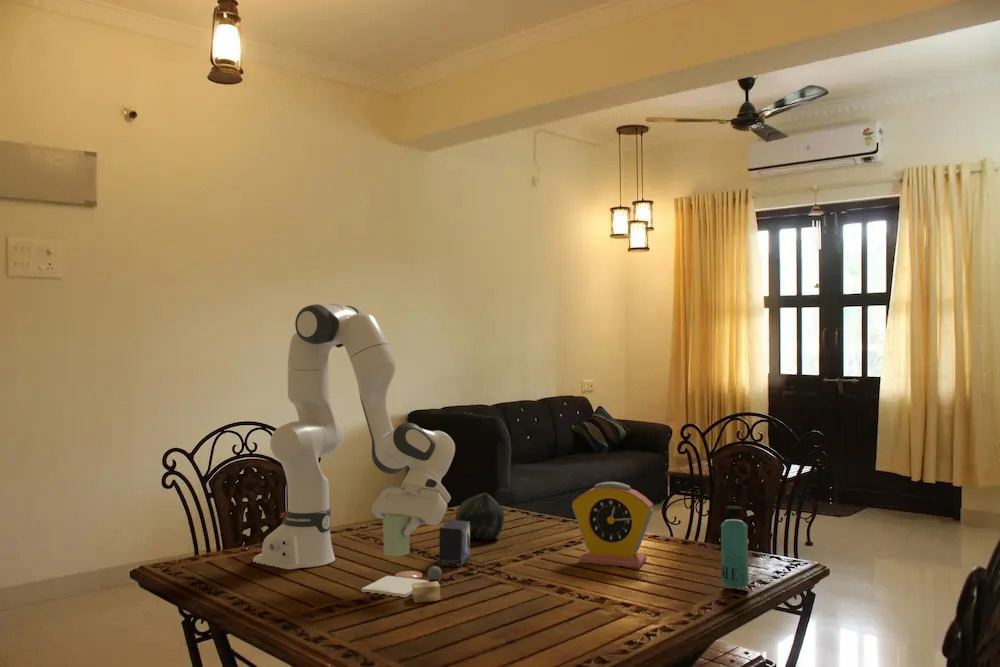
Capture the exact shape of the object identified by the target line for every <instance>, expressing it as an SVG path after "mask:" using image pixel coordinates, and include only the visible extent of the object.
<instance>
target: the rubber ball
mask: <svg viewBox="0 0 1000 667" xmlns="http://www.w3.org/2000/svg"><path fill="white" fill-rule="evenodd" d="M442 571H443V570H442V569H441V568H440V566H437V565H433V566H431V567H430V568H428V570H427V577H428V579H429V581H431V582H435V581H439V580H440V579H441V577H443V576H442V575H443V572H442Z"/></svg>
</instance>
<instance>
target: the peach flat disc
mask: <svg viewBox="0 0 1000 667" xmlns="http://www.w3.org/2000/svg"><path fill="white" fill-rule="evenodd" d="M394 577H403V578H411V579H419V578H420V579H421V578H423V573H422V572H420V571H414V570H407V571H400V572H397V573H395V574H394Z"/></svg>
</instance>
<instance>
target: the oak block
mask: <svg viewBox="0 0 1000 667" xmlns="http://www.w3.org/2000/svg"><path fill="white" fill-rule="evenodd" d="M411 596H412V600H413V602H414V603H424V602H427V603H428V602H436V601H437V602H438V600H440V601H441V585H440V583H439V580H437V581H429V582H421V583H412V594H411Z"/></svg>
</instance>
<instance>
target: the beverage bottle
mask: <svg viewBox="0 0 1000 667" xmlns="http://www.w3.org/2000/svg"><path fill="white" fill-rule="evenodd" d="M724 514H725V515H724V516H725V517H729V518H731V519H725V520H724V521H723V522H722V523H721V524H720V528H721V529H720V530H721V532H720V549H721V550H720V552H721V557H720V558H721V573H720V575H721V577H720V578H721V579H720V580H721V582H722V585H724V586H726V587H729V588H746V587H748V586H749V579H750V578H749V577H750V575H749V571H750V569H749V554H748V553H749V547H748V541H749V540H748V527H749V526H748V524H747V523H746V522H744V521H743V520H742V519H735V518H741V517H744V513H743V507H741V506H737V505H727V506H725V513H724Z"/></svg>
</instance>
